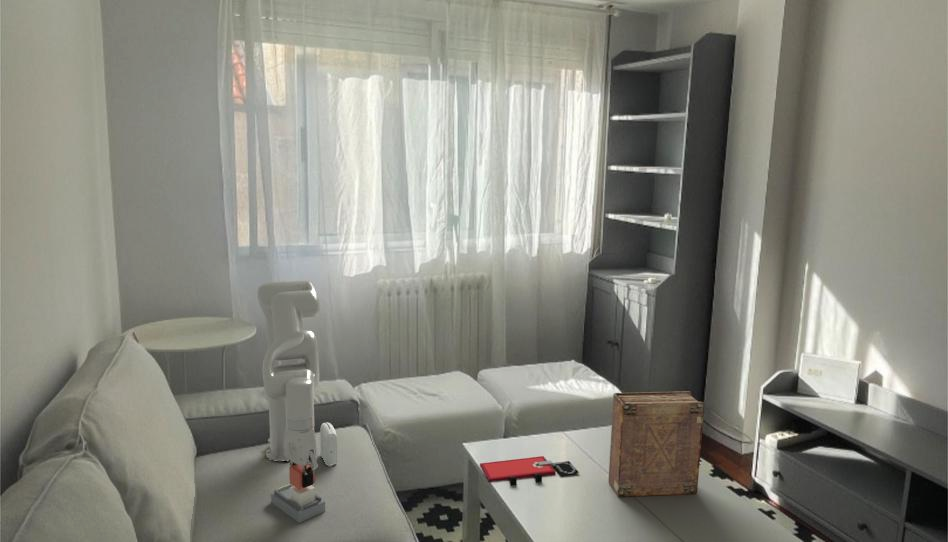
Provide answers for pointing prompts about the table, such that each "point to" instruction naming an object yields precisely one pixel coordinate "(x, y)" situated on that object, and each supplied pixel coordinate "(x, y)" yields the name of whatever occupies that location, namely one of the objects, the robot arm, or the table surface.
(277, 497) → the grey tray
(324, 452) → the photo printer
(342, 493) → the table surface
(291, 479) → the red cube
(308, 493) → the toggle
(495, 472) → the red board with handle
